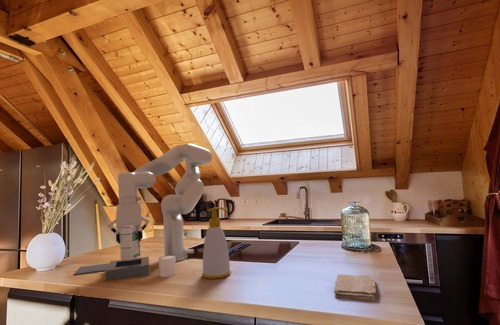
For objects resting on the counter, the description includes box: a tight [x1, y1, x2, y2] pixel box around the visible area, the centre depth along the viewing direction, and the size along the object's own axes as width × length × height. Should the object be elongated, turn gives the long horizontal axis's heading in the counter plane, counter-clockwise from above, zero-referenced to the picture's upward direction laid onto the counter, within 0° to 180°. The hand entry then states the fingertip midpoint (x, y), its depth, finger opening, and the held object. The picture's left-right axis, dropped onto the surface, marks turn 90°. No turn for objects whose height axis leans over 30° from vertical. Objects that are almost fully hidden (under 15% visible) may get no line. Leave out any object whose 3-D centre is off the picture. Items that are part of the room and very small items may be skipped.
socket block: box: [104, 256, 150, 282], centre depth 121 cm, size 16×16×4 cm
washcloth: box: [333, 274, 377, 302], centre depth 90 cm, size 12×18×3 cm, turn 160°
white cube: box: [157, 256, 177, 278], centre depth 115 cm, size 7×7×7 cm
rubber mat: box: [73, 262, 110, 276], centre depth 129 cm, size 12×12×1 cm
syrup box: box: [119, 225, 141, 260], centre depth 123 cm, size 6×6×14 cm
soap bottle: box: [201, 206, 232, 280], centre depth 113 cm, size 11×12×26 cm
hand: (129, 241), depth 123 cm, fingers closed on syrup box, 7 cm apart
